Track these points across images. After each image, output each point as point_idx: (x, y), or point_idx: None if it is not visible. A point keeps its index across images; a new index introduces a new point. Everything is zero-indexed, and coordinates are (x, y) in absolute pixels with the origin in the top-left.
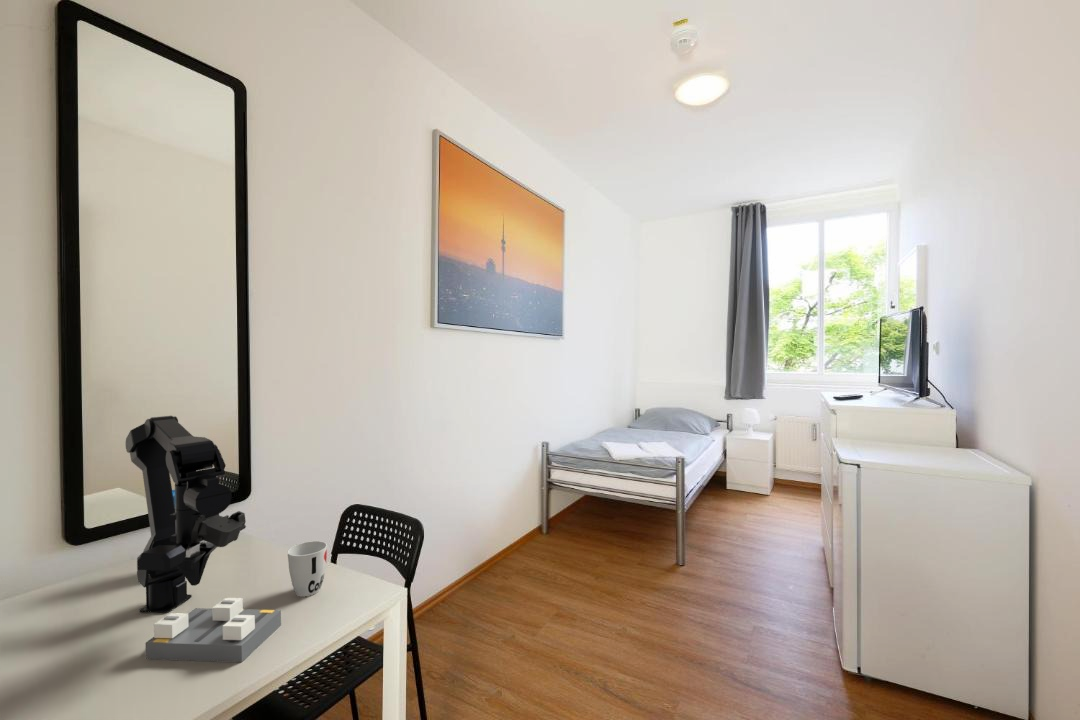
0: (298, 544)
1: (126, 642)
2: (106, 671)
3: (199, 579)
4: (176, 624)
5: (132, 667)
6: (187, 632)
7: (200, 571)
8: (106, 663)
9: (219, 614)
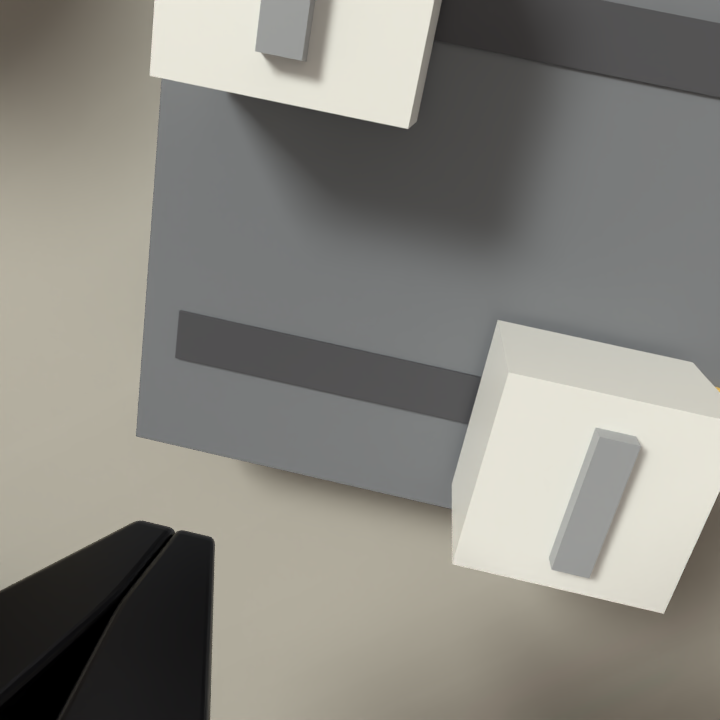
0: None
1: (380, 681)
2: (695, 632)
3: (119, 560)
4: (676, 397)
5: None
6: (581, 282)
7: (23, 680)
8: (598, 673)
9: (434, 20)
